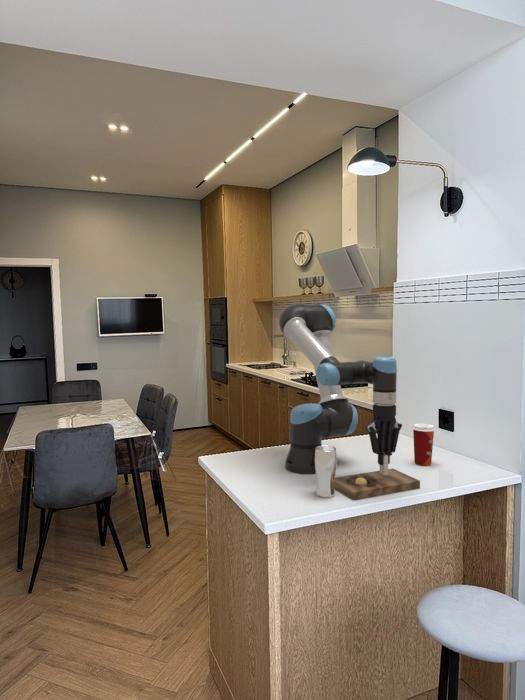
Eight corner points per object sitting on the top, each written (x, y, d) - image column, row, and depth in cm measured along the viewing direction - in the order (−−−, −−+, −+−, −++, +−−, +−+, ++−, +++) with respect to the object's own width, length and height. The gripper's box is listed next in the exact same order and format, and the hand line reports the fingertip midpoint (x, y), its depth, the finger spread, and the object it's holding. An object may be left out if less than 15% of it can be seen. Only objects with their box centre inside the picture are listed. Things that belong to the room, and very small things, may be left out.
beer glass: (321, 488, 162) (322, 444, 160) (340, 493, 157) (340, 447, 156) (310, 494, 156) (310, 448, 155) (328, 499, 152) (329, 452, 151)
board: (353, 500, 152) (353, 492, 151) (330, 485, 164) (330, 478, 164) (419, 488, 162) (420, 480, 162) (392, 475, 175) (392, 468, 175)
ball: (352, 489, 160) (354, 477, 160) (355, 486, 163) (357, 474, 163) (364, 492, 158) (366, 480, 158) (367, 489, 162) (369, 477, 162)
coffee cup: (435, 467, 183) (436, 428, 182) (412, 466, 185) (413, 427, 184) (432, 461, 191) (433, 423, 190) (410, 459, 193) (411, 422, 192)
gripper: (374, 407, 156) (373, 479, 158) (407, 404, 161) (407, 474, 163) (361, 403, 163) (360, 472, 165) (393, 400, 168) (393, 468, 170)
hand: (383, 473), depth 164 cm, fingers closed
